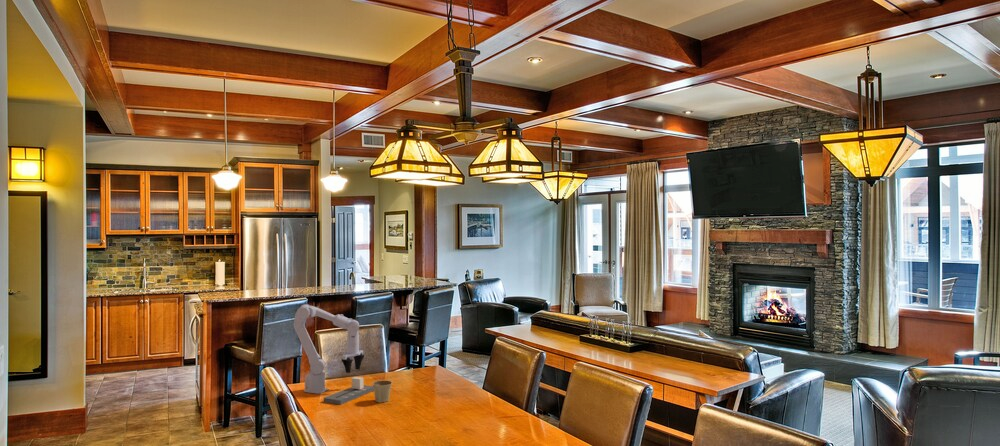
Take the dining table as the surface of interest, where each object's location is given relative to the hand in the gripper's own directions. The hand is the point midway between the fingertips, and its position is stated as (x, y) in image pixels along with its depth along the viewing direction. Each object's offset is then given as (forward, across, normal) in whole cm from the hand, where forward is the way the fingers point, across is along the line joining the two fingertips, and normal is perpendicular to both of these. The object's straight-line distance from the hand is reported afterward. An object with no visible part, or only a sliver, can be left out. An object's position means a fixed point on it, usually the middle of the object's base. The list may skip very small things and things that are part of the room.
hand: (352, 370), depth 291 cm
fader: (+7, -4, -6) cm, 10 cm away
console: (+9, -10, -6) cm, 15 cm away
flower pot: (+10, -10, -25) cm, 29 cm away
